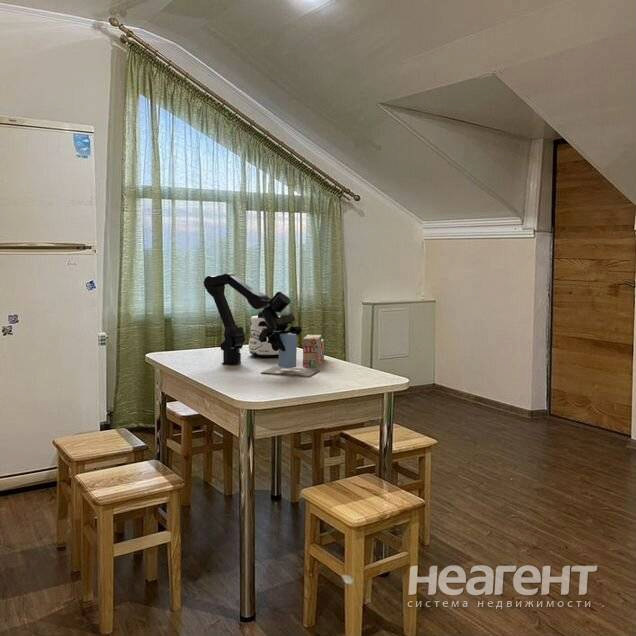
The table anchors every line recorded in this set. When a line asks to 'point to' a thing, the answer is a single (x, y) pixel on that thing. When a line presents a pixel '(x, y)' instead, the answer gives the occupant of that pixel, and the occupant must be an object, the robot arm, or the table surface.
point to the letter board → (290, 371)
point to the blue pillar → (288, 350)
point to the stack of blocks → (313, 350)
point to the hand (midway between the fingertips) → (289, 350)
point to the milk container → (254, 343)
